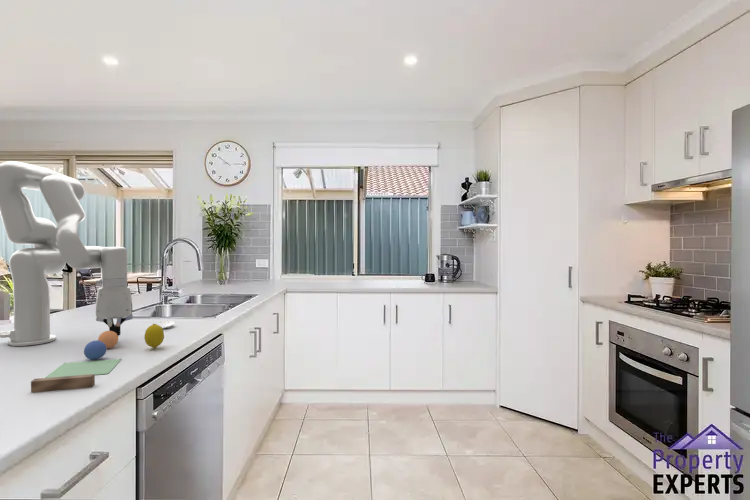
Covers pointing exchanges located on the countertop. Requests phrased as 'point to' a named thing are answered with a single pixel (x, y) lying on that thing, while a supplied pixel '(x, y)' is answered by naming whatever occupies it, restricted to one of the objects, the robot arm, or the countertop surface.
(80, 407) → the countertop surface
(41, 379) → the rail
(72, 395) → the countertop surface
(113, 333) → the orange ball
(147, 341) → the lemon
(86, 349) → the navy ball
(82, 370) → the green mark
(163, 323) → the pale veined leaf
